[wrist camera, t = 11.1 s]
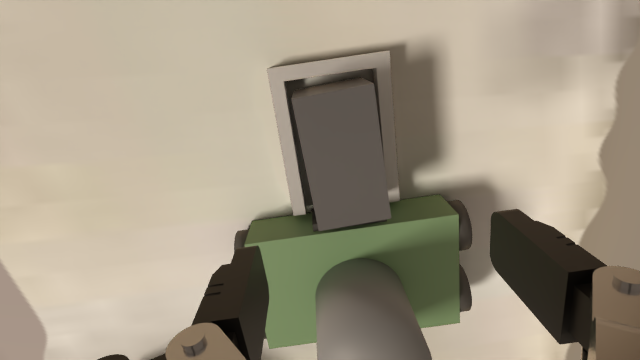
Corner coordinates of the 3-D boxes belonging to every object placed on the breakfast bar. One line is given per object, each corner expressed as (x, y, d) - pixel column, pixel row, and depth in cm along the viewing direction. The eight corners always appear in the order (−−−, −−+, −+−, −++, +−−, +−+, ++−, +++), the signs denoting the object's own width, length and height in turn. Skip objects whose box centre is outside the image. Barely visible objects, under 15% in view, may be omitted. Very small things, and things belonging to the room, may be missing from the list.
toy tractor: (205, 77, 26) (140, 92, 16) (449, 41, 26) (542, 32, 16) (263, 317, 34) (243, 434, 23) (453, 291, 33) (519, 397, 23)
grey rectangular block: (294, 89, 27) (291, 99, 21) (359, 77, 27) (373, 83, 21) (316, 197, 30) (318, 231, 24) (375, 187, 30) (391, 218, 24)
